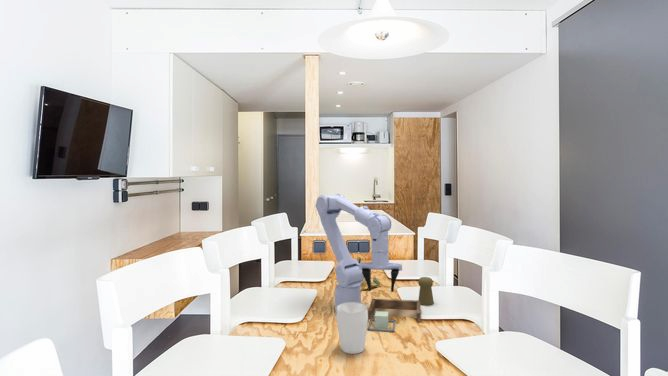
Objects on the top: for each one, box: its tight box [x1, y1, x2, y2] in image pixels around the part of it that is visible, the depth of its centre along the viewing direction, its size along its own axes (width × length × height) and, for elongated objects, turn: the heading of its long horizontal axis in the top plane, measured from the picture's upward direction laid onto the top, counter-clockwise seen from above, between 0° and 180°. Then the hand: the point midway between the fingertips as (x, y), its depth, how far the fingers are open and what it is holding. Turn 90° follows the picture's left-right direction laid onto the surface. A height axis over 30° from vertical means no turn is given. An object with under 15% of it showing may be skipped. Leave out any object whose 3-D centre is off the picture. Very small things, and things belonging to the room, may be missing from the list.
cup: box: [335, 302, 369, 355], centre depth 106 cm, size 9×9×12 cm
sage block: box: [374, 311, 390, 330], centre depth 118 cm, size 4×4×5 cm
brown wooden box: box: [367, 298, 422, 323], centre depth 128 cm, size 17×12×4 cm
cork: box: [417, 276, 435, 307], centre depth 138 cm, size 6×6×11 cm
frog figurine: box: [357, 256, 382, 291], centre depth 163 cm, size 10×18×15 cm, turn 86°
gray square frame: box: [366, 318, 397, 333], centre depth 118 cm, size 8×8×2 cm
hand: (381, 290), depth 127 cm, fingers open, 7 cm apart
